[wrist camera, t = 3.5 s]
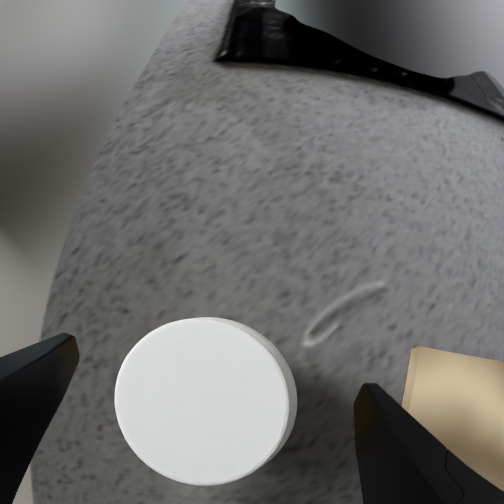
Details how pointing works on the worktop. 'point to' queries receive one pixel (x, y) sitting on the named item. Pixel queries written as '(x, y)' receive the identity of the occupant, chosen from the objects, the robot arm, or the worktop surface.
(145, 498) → the worktop surface
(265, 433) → the supplement bottle
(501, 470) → the oak board
